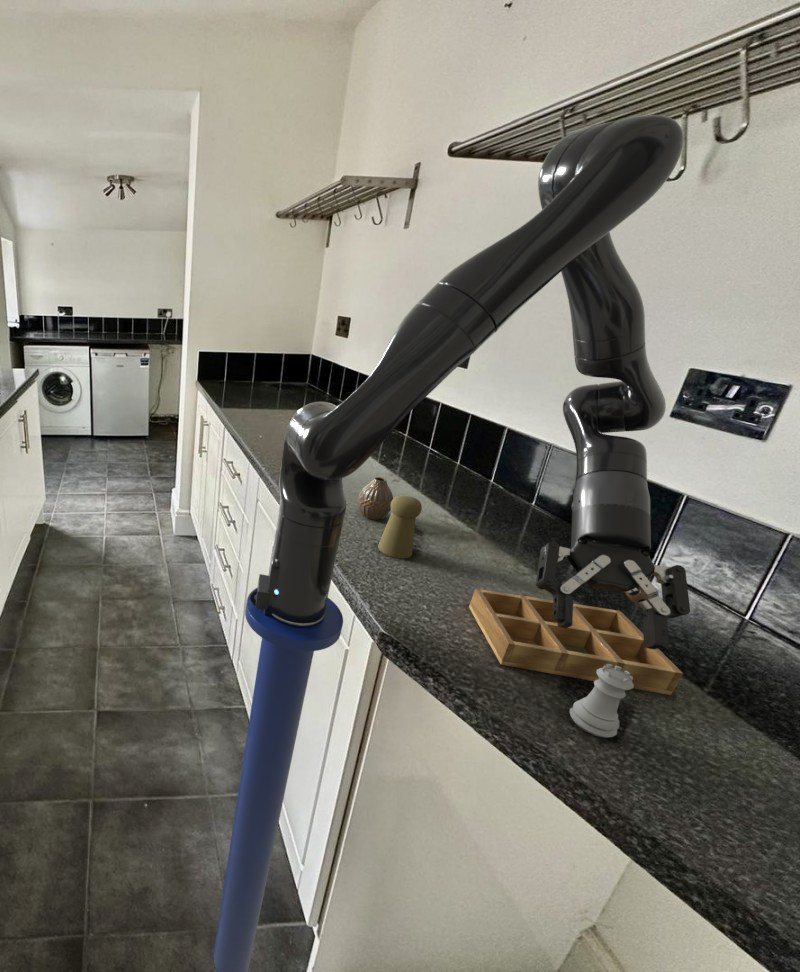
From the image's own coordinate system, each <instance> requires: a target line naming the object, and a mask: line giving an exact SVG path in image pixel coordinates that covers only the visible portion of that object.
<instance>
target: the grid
mask: <svg viewBox="0 0 800 972" xmlns="http://www.w3.org/2000/svg"><path fill="white" fill-rule="evenodd" d="M468 609H469V611H470V612H471V614H472V616H473V618H474V619H475V621H476V623H477V624H478V626H479V628H480V630H481V632H482V633H483V635H484V637H485V639H486V641H487V643H488V645H489V646H490V648H491V650H492V652H493V654H494V655H495V657H496V659H497V661H498V662H499V664H500V665H502V666H507V667H513V668H519V669H522V670H523V669H524V670H528V671H529V670H530V671H535V672H541V673H545V674H551V675H557V676H562V677H569V678H574V679H579V680H584V681H591V682H594V681H595V680H598V679H599V677H598V675H597V673H596V672H597V669H600V668H603V667H604V665H605V666H606V664H611V665H612V668H615V666H619V667H621V670H620V671H621V672H623V673H624V671H628V672H629V673H630V676H632V677H633V679H632V683H633V685H634V686H633V688H632V689H635V690H641V691H645V692H652V693H656V694H662V695H667V696H672V694H673V692H674V691H675V689H676V687H677V686H678V684H679V682H680V681H681V679H682V677H683V675H684V673H683V671H681V669H679V668H678V667H677V666H676V665H675V664H674V663H673V662H672V661H671V659H669V658H668V657H667V656H666V655H665V653H663V652H662V650H660V648H658V649H649V648H645V647H644V632H643V631H641V630H640V629H639V628H638V627H637V626H636V625H635V624H634V622H632V620H630V619H629V618H628V617H627V616H626V615H625V614H624V613H623V612H622V611H621V610H619V609H618V610H617V609H616V610H615V609H612V608H611V609H610V608H603V607H596V606H590V605H586V604H585V605H584V604H579V603H573V620H572V625H571V627H568V628H562V627H558V622H557V621H554V619H553V617H552V616H553V599H546V598H539V597H533V596H528V595H527V596H526V595H519V594H512V593H506V592H499V591H493V590H486V589H480V588H474V591H473V594H472V597H471V599H470V603H469V606H468Z"/></svg>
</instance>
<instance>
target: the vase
mask: <svg viewBox="0 0 800 972" xmlns="http://www.w3.org/2000/svg"><path fill="white" fill-rule="evenodd" d="M393 499H394V496H393V492H392V489H391V488H390V486H389V485H388V482H387V479H386V478H384V477H381V476H376V477H373V479H372V480H371V481H370V482H369V483H367V484H366V485H365V486H363V488H362V489H361V491H360V492H359V494H358V498H357V509H358V510H359V512H360V514H361V515H362V516H363V517H364V518H366V519H369V520H375V521H378V520H382V519H384V518H385V517H387V516H388V515H389V513H390V512H391V502H392V500H393Z"/></svg>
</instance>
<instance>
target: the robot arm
mask: <svg viewBox="0 0 800 972" xmlns="http://www.w3.org/2000/svg"><path fill="white" fill-rule="evenodd" d="M683 147H684V131H683V129H682V127H681V125H680V124H679V123H678V121H676V120H675V119H674V118H671V117H670V116H666V115H663V114H641V115H640V114H639V115H634V116H630V117H629V116H628V117H626V118H621V119H617V120H612V121H608V122H604V123H600V124H596V125H591V126H587V127H584V128H580V129H578V130H575V131H573V132H571V133H568V134H567V135H565V136H564V137H563V138H562V139H560V140H559V141H558V142H557V143H555V145H554V146H553V147H552V148H551V149H550V151H549V152H548V153H547V155H546V157H545V158H544V160H543V162H542V165H541V167H540V169H539V174H538V180H537V190H538V191H537V192H538V198H539V203H540V206H541V210H540V211H539V212H538V213H536V214H535V215H534V216H533V217H532V218H531V219H529V220H528V221H527V222H525V223H524V224H523V225H521V226H520V227H519V228H517V229H515V230H513V231H512V232H511V233H509V234H507V235H506V236H504V237H503V238H500V239H498V240H497V241H496V242H494V243H493V244H491V245H489V246H488V247H486V248H484V249H482V250H480V252H478V253H476V254H475V255H473V256H471V257H469V258H467V260H465V261H463V262H462V263H461V264H458V265H457V266H456V267H454V268H453V269H451V271H450V272H448V273H447V274H446V275H444V277H443V278H441V279H440V280H439V281H438V282H437V283H436V284H435V285H434V286H433V287H432V288H431V289H429V291H428V292H426V294H425V295H424V296H423V297H422V298H421V299H420V300H419V301H418V302H417V303H416V304H415V305H414V306H413V307H412V308H411V309H410V310H409V311H408V313H407V314H406V315H405V316H404V317H403V319H402V320H401V322H400V323H399V324H398V326H397V328H396V330H395V331H394V333H393V334H392V336H391V338H390V340H389V342H388V344H387V346H386V348H385V349H384V353H383V355H382V356H381V358H380V360H379V361H378V364H377V365H376V366H375V368H374V369H373V370H372V372H371V373H370V374H369V376H367V378H366V379H365V380H364V381H363V382H362V383H361V384H360V385H359V386H358V387H357V388H356V389H355V390H354V391H353V392H352V393H351V394H350V395H349V396H348V397H347V398H345V399H344V400H343V401H342V402H341V403H340V404H338V405H335V404H333V403H331V402H327V401H314V402H310V403H308V404H305V405H304V406H302V407H301V408H299V409H298V410H297V411H296V412H295V413H294V414H293V415H292V416H291V418H290V420H289V422H288V424H287V427H286V431H285V434H284V438H283V446H282V454H281V463H280V469H279V470H280V472H279V480H278V481H279V482H278V483H279V485H278V487H279V497H280V498H279V507H278V508H279V509H278V515H277V521H276V528H275V534H274V540H273V541H274V542H273V545H272V549H271V556H270V560H269V568H268V574H262V573H259V574H258V581H257V587H256V588H257V589H256V588H254V589H255V590H254V589H253V590H251V592H250V593H249V594H250V600H251V602H252V603H253V605H254V606H256V608H262V609H264V615H265V616H270V617H272V618H274V619H275V620H277V621H279V622H280V623H283V624H285V625H288V626H292V627H298V628H308V627H313V626H316V625H318V624H320V623H321V622H322V621H323V619H324V616H325V609H326V603H327V598H329V592H330V588H331V584H332V578H333V573H334V569H335V564H336V560H337V554H338V550H339V544H340V540H341V535H342V530H343V525H344V521H345V516H346V511H347V500H346V495H345V492H344V486H343V479H345V478H346V477H348V476H350V475H351V474H353V473H355V472H356V471H357V470H359V468H361V467H362V465H364V463H365V462H366V461H368V460H369V458H370V457H371V456H372V455H373V454H374V453H375V452H376V450H378V448H380V446H381V445H382V444H383V442H384V441H385V440H386V439H387V438H388V437H389V436H390V435H391V433H392V432H393V431H395V429H396V428H397V426H398V425H399V424H400V423H401V422H402V421H403V420H404V419H405V418H406V417H407V415H409V413H410V412H412V410H413V409H415V408H416V407H417V406H418V405H419V404H420V403H421V402H422V401H423V400H424V399H426V397H428V396H429V395H430V394H431V393H432V392H433V391H434V390H435V389H436V388H437V387H439V385H440V384H441V383H443V381H444V380H445V379H446V378H447V377H448V376H449V375H451V374H452V372H454V371H455V370H456V369H457V368H458V367H459V366H461V364H463V363H464V362H465V361H466V360H467V359H468V358H469V357H471V356H472V355H473V354H474V353H475V352H476V351H478V350H479V349H480V348H481V347H482V346H483V345H484V344H485V343H486V342H487V341H488V340H489V339H490V338H491V337H493V335H494V334H496V333H497V332H498V331H499V330H500V329H501V328H502V327H503V325H505V324H506V323H507V322H508V321H509V320H510V319H511V318H512V317H513V316H514V315H515V314H516V313H517V312H518V311H519V310H520V309H522V307H523V306H525V304H527V303H528V302H529V301H530V300H531V299H532V298H534V297H535V296H536V295H537V294H538V293H539V292H540V291H542V290H543V288H545V287H546V286H547V285H549V283H550V282H552V280H553V279H555V278H556V277H557V276H558V275H559V274H560V273H561V277H562V281H563V284H564V287H565V292H566V295H567V299H568V307H569V313H570V320H571V330H572V331H571V332H572V343H573V356H574V364H575V367H576V370H577V372H578V373H579V374H581V375H583V376H585V377H591V378H601V379H613V380H618V381H612V382H604V383H595V384H586V385H585V384H584V385H581V386H577V387H575V388H574V389H572V390H571V391H570V392H569V393H567V395H566V396H565V398H564V400H563V403H562V413H563V417H564V421H565V423H566V425H567V427H568V430H569V432H570V435H571V437H572V440H573V443H574V448H575V455H576V471H575V472H576V475H575V476H576V477H575V487H574V490H573V496H572V503H571V507H570V508H571V511H572V513H571V531H570V532H571V533H570V535H571V536H570V543H571V544H570V545H571V546H570V547H564V546H560V544H559V543H558V542H557V541H554V540H553V541H549V542H548V543H547V544H545V545H544V546H542V547H541V548H540V551H539V559H538V565H537V573H536V579H535V586H536V587H537V588H538V589H539V590H541V591H542V590H544V591H546V592H548V593H550V594H551V596H552V598H553V599H552V600H553V616H552V617H553V619H554V621H557V622H558V627H562V628H568V627H571V625H572V620H573V604H574V596H573V595H571V594H572V593H573V592H574V591H575V590H576V589H579V587H581V586H582V585H583V584H586V585H588V587H589V588H592V589H604V590H607V591H610V592H612V593H617V594H621V593H624V594H625V595H626V596H627V597H628V599H629V600H630V602H633V603H634V604H636V605H637V606H638V607H639V609H640V610H641V611H642V613H644V615H645V616H646V617H643V620H642V621H643V622H642V623H643V626H642V627H643V631H642V633H643V634H644V647H645V648H649V649H661V648H662V647H663V645H666V644H667V643H668V641H669V629H668V627H669V625H668V623H669V622H668V620H669V618H670V619H675V618H678V617H681V616H686V615H689V614H690V613H691V605H690V596H689V589H688V579H687V572H686V571H687V570H686V568H684V566H682V565H679V564H675V565H671V566H666V565H659V564H655V563H654V562H653V561H652V558H651V557H650V555H651V554H650V553H651V547H652V543H651V542H652V540H651V537H652V536H651V534H652V533H651V532H652V531H651V495H650V492H649V488H648V454H647V453H648V452H647V449H646V447H645V445H644V444H643V443H642V442H641V441H639V440H637V439H634V438H631V437H628V436H627V437H626V436H621V435H612V434H609V433H624V432H637V431H647V430H649V429H652V428H653V427H655V426H656V425H657V424H659V423H660V421H662V419H663V418H664V416H665V413H666V410H667V409H666V406H667V405H666V398H665V395H664V392H663V391H662V389H661V386H660V385H659V383H658V380H657V379H656V377H655V375H654V373H653V371H652V369H651V367H650V363H649V360H648V357H647V356H648V355H647V349H646V348H647V347H646V316H645V307H644V303H643V298H642V296H641V293H640V291H639V289H638V286H637V284H636V282H635V281H634V279H633V278H632V276H631V274H630V273H629V271H628V269H627V268H626V266H625V264H624V263H623V261H622V259H621V257H620V255H619V253H618V252H617V248H616V247H615V244H614V241H613V238H612V235H611V231H612V230H614V229H615V228H617V227H618V226H619V225H620V224H621V223H623V222H624V221H625V220H626V219H628V218H629V217H630V216H632V215H633V214H635V213H636V212H637V211H638V210H639V209H640V208H642V207H643V206H644V205H645V204H647V202H648V201H649V200H651V199H652V198H653V197H654V196H655V195H656V193H657V192H659V190H660V189H661V188H662V187H663V186H664V184H665V183H666V182H667V181H668V179H669V178H670V176H671V175H672V173H673V172H674V170H675V168H676V166H677V164H678V162H679V160H680V157H681V155H682V152H683ZM607 433H608V434H607ZM564 558H566V560H567V561H568V563H569V564H570V566H571V567H572V568H573V569H574V572H573V573H572V574H570V575H569V576H568V577H567V578H565V579H564V580H563V581H562V582H559V581H557V580H556V577H557V572H558V571H557V570H558V563H560V562H561V561H563V560H564ZM651 576H654V577H655V580H656V582H657V583H658V584H660V586H661V588H660V589H661V596H662V598H661V597H660V596H659V590H658V589H657V588H656V587H655V585H653V583H652V581H650V580H649V577H651ZM256 594H257V597H256V600H255V598H254V596H255V595H256Z"/></svg>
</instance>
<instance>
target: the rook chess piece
mask: <svg viewBox="0 0 800 972" xmlns="http://www.w3.org/2000/svg"><path fill="white" fill-rule="evenodd" d="M620 670H621V667H619V666H615V668H612V665H611V664H606V666H605V665H604V667H603V668H600V669H597V672H596V673H597V675H598V677H599V679H598V680H595V681H593V684H594V687H593V688H592V690H591V691H590V692H589V693H588V694H587V695H586V696H585V697H583V698H581V699H579V700H576V701H575V702H574V703H573V705H572V707H570V708H569V714H570V717H571V719H572V721H573V723H574V724H575V725H576V726H577V727H578V728H579V729H581V730H583V731H584V732H586V733H588V734H590V735H592V736H595V737H598V738H613V737H615V736H616V735H617V734H618V730H620V720H619V714H618V709H619V707H620V702H621V701H622V699H624V698H625V697H626V692H625V691H629V690H632V689H634V688H633V686H634V685H633V683H632V679H633V677H632V676H630V673H629V672H628V671H624V673H623V672H621V671H620Z"/></svg>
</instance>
